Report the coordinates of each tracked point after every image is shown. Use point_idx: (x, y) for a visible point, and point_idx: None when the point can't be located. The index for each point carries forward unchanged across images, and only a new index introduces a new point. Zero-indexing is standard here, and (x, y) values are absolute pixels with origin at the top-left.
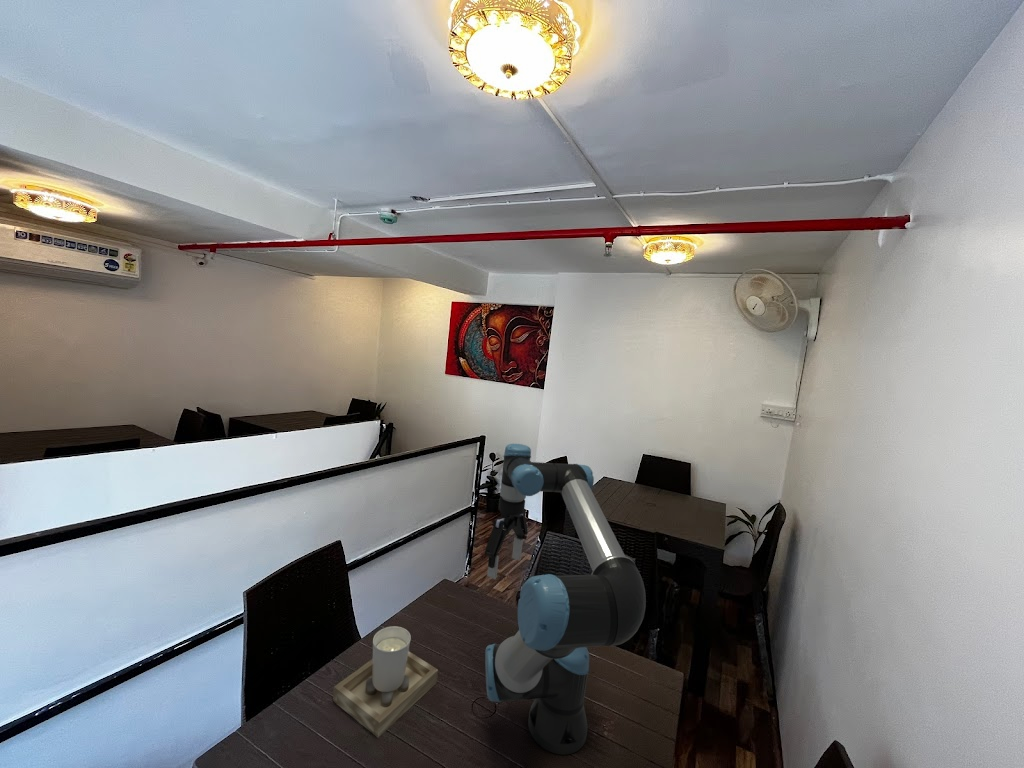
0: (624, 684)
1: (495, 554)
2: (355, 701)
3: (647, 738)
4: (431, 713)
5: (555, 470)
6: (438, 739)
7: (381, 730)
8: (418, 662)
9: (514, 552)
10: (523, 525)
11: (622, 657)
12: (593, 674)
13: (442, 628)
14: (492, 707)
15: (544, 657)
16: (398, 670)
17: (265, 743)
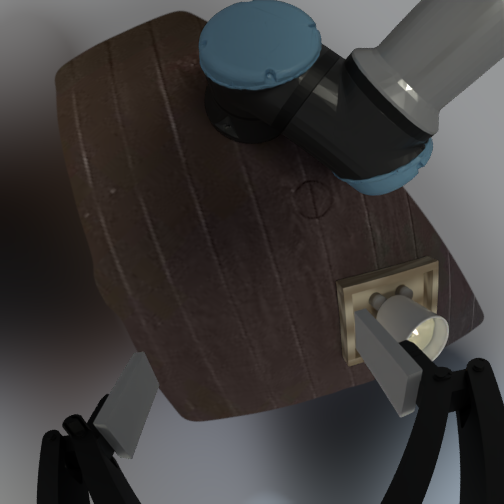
0: (104, 93)
1: (453, 376)
2: (435, 303)
3: (168, 28)
4: (372, 242)
5: None
6: (388, 205)
7: (427, 258)
8: (353, 317)
9: (147, 396)
10: (63, 495)
11: (61, 132)
12: (119, 130)
13: (251, 363)
14: (303, 189)
15: None
16: (414, 303)
17: (470, 313)
